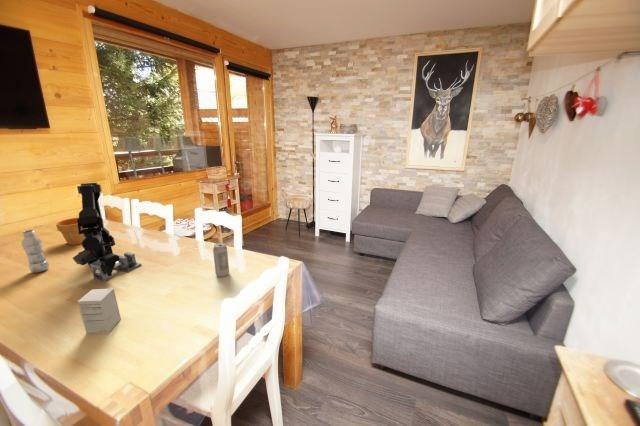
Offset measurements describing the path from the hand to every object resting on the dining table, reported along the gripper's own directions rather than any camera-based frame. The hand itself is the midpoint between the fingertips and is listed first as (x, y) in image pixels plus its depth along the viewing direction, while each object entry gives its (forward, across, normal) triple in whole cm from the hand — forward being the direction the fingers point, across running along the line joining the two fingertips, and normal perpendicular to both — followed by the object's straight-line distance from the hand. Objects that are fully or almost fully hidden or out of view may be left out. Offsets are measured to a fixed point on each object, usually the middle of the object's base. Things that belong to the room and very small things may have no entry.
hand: (102, 273), depth 128 cm
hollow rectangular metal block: (+2, 0, 0) cm, 2 cm away
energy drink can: (+2, +48, +22) cm, 53 cm away
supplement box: (+2, +33, -22) cm, 40 cm away
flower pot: (+2, -56, +23) cm, 61 cm away
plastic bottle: (+2, -34, -6) cm, 35 cm away
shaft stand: (+2, 0, +6) cm, 6 cm away
